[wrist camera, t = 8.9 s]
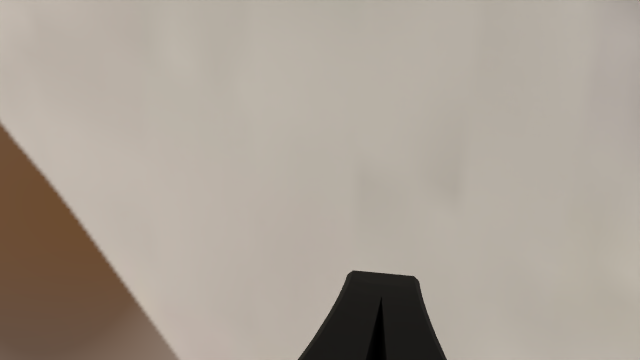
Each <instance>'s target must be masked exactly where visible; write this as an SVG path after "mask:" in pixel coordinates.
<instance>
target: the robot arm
mask: <svg viewBox="0 0 640 360" xmlns="http://www.w3.org/2000/svg"><path fill="white" fill-rule="evenodd" d="M298 360H447V359H446V357H445V355H444V352H443V350H442V348H441V346H440V343H439V341H438V339H437V337H436V334H435V332H434V329H433V327H432V324H431V322H430V319H429V316H428V313H427V310H426V307H425V304H424V301H423V297H422V294H421V289H420V284H419V281H418V280H417V279H416V278H415V277H414V276H406V275H395V274H385V273H374V272H364V271H352V272H350V273H349V274H348V275H347V278H346V280H345V283H344V285H343V288H342V290H341V292H340V294H339V296H338V298H337V300H336V302H335V304H334V305H333V307H332V309H331V311H330V313H329V314H328V316H327V317H326V319H325V321H324V322H323V324H322V325H321V327H320V329H319V330H318V332H317V333H316V335H315V336H314V338H313V339H312V341H311V342H310V344H309V345H308V347H307V348H306V349H305V351H304V352H303V353H302V355H301V356H300V357H299V359H298Z"/></svg>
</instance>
